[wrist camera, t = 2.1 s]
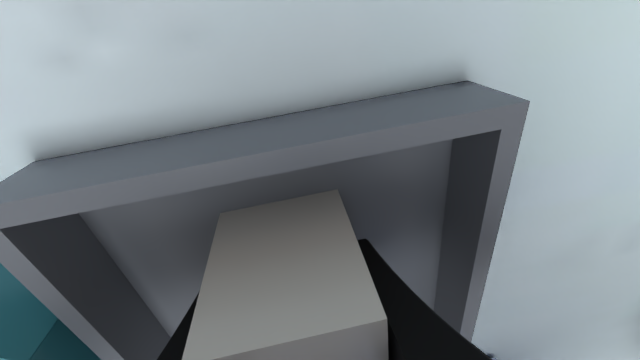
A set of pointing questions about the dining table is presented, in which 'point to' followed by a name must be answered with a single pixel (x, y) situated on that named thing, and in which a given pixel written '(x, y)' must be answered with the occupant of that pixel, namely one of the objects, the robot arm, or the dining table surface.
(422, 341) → the robot arm
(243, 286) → the white rectangular block
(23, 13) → the dining table surface
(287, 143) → the parts tray
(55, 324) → the bowl
